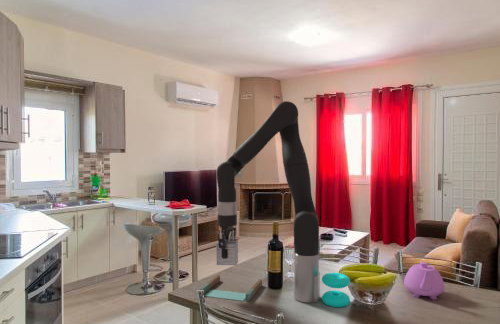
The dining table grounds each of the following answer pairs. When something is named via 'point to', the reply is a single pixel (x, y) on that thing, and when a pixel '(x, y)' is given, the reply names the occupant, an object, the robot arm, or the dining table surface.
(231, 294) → the front pad
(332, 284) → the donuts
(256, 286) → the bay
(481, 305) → the dining table surface
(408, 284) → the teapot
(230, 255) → the medicine box
